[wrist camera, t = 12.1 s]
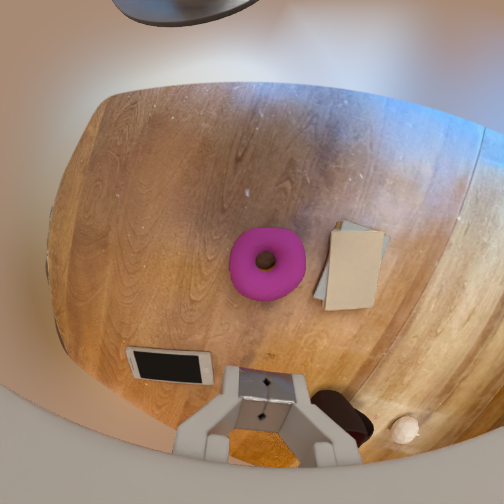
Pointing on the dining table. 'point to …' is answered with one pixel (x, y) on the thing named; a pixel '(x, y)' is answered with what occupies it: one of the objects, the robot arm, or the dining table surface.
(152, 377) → the smartphone
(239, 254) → the donut
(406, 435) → the ornament
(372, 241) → the letter pile
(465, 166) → the dining table surface
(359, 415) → the cup
